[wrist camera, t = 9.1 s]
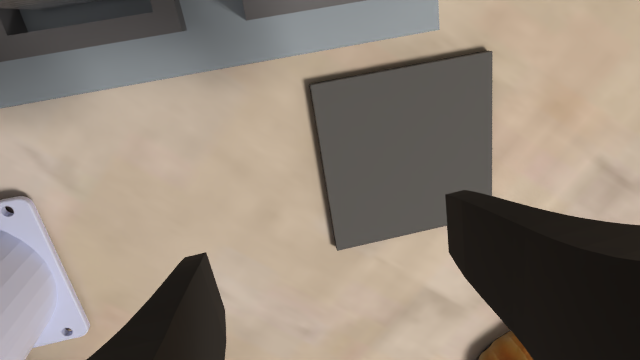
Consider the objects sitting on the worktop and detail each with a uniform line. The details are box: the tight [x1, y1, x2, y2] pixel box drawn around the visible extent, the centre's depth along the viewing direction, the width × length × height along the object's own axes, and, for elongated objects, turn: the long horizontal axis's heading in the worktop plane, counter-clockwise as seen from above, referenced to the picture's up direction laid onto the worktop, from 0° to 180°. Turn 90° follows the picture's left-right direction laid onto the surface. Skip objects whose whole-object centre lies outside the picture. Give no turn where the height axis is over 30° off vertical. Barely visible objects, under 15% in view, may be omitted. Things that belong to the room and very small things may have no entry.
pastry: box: [479, 331, 533, 360], centre depth 27 cm, size 9×7×4 cm
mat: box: [309, 51, 492, 251], centre depth 22 cm, size 9×9×1 cm
